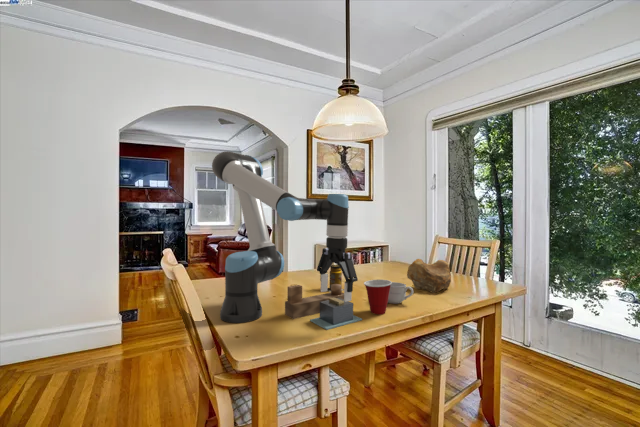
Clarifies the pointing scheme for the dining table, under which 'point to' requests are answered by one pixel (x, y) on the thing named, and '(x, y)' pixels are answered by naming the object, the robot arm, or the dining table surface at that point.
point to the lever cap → (336, 311)
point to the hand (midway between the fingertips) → (335, 296)
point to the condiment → (335, 276)
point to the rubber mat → (330, 326)
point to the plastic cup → (378, 295)
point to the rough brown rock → (429, 275)
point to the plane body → (308, 301)
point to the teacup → (398, 292)
